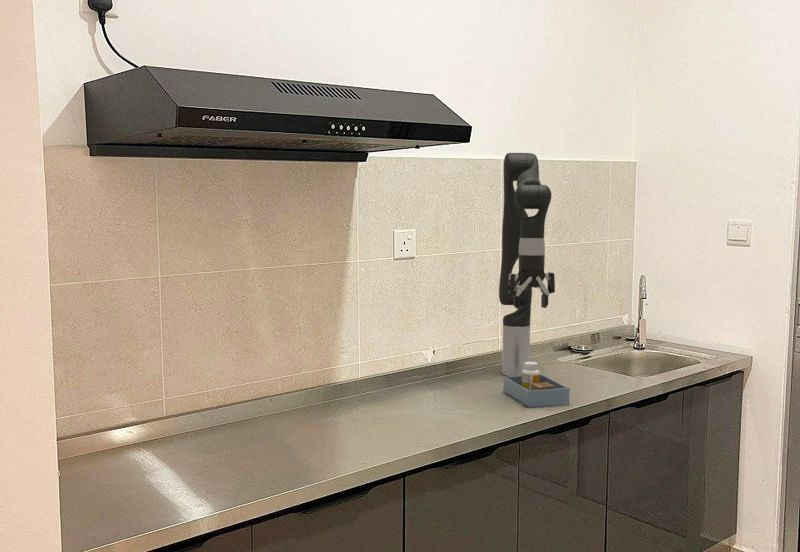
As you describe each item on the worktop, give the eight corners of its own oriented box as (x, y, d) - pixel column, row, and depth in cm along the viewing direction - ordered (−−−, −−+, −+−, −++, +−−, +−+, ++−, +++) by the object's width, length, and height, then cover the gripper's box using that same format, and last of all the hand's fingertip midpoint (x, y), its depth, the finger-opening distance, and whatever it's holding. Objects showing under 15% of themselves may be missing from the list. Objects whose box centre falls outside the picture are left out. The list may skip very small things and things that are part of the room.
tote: (503, 392, 239) (503, 376, 239) (542, 389, 243) (542, 374, 242) (527, 408, 222) (528, 391, 221) (569, 405, 225) (569, 388, 225)
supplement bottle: (538, 392, 238) (539, 361, 237) (539, 396, 233) (540, 365, 232) (521, 391, 239) (521, 360, 238) (521, 395, 234) (522, 364, 233)
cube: (538, 404, 224) (539, 387, 224) (531, 399, 229) (531, 383, 229) (554, 402, 226) (554, 386, 225) (546, 398, 231) (546, 382, 230)
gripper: (514, 254, 220) (513, 310, 221) (559, 253, 223) (558, 309, 225) (504, 252, 227) (503, 307, 229) (548, 252, 231) (547, 305, 232)
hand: (530, 308), depth 227 cm, fingers open, 8 cm apart
